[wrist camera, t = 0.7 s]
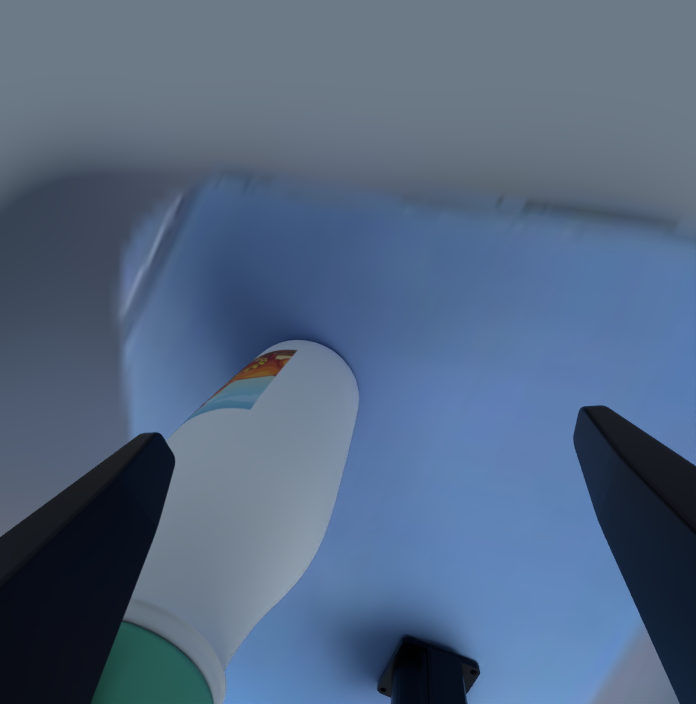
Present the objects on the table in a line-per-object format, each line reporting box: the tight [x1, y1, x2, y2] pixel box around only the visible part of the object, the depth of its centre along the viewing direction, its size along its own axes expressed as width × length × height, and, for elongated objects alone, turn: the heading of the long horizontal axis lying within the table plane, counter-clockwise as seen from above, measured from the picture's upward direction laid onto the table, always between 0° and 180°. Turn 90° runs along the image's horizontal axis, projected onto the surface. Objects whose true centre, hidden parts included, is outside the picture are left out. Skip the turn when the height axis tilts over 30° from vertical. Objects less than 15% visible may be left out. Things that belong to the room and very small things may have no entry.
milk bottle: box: [91, 340, 359, 704], centre depth 17 cm, size 8×8×20 cm
